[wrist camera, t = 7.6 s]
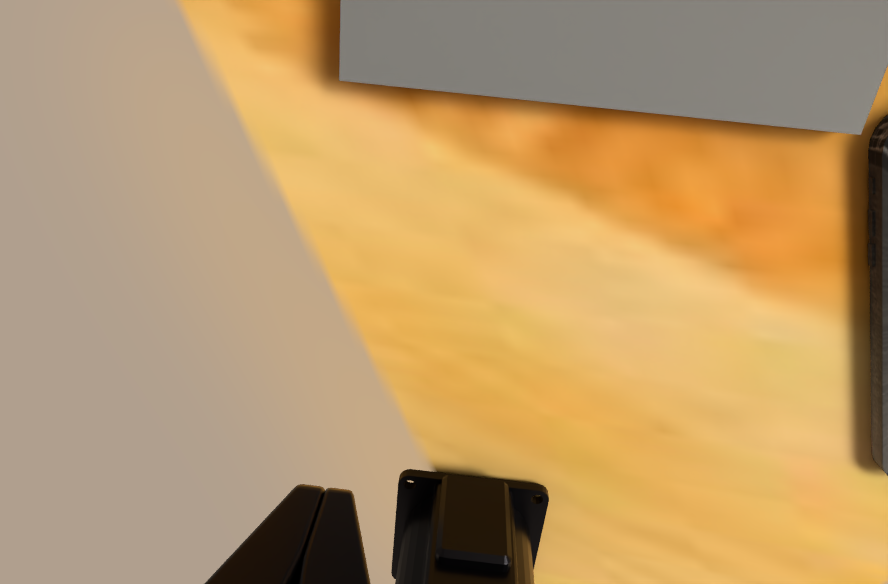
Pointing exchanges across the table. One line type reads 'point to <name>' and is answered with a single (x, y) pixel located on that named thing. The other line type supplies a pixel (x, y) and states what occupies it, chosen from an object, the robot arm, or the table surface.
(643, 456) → the table surface
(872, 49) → the base board
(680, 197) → the table surface
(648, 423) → the table surface
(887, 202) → the phone
